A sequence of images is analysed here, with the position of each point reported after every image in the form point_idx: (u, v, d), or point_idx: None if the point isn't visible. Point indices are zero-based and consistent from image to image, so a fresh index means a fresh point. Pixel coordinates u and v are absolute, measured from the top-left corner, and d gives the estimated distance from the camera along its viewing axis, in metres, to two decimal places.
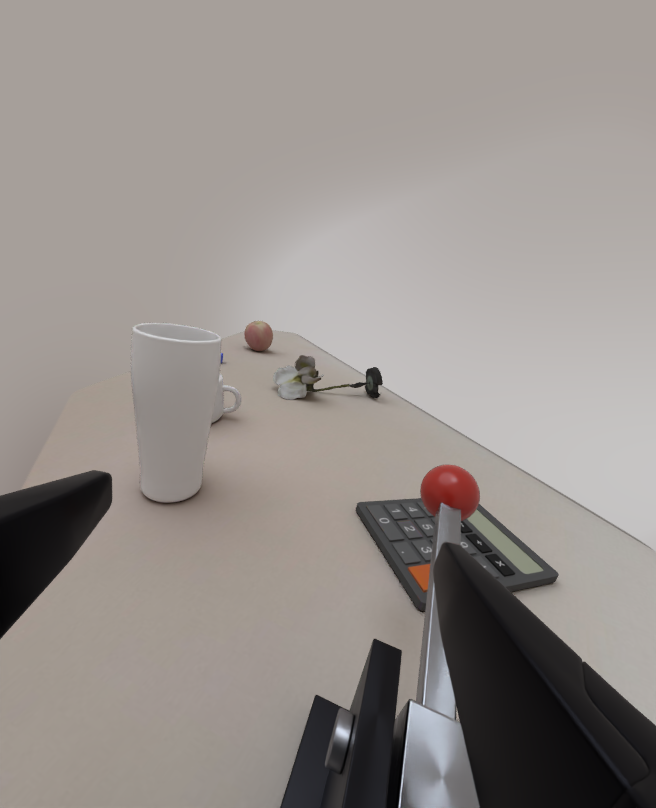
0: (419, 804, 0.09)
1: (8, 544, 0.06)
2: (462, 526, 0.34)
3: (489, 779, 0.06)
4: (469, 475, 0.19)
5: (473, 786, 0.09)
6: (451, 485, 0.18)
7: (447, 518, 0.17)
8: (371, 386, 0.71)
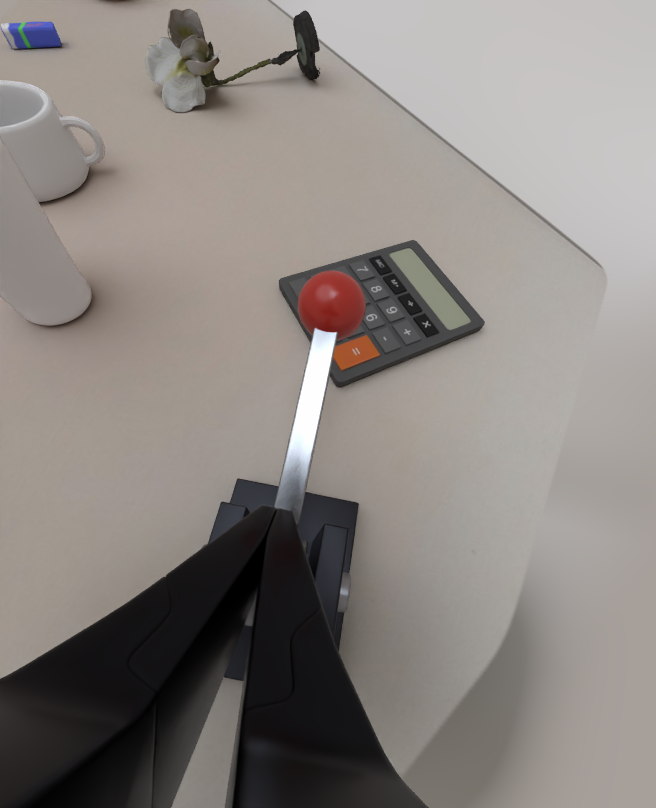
0: None
1: (240, 591, 0.06)
2: (396, 286, 0.31)
3: None
4: (349, 287, 0.15)
5: None
6: (323, 307, 0.15)
7: (318, 349, 0.15)
8: (304, 56, 0.46)
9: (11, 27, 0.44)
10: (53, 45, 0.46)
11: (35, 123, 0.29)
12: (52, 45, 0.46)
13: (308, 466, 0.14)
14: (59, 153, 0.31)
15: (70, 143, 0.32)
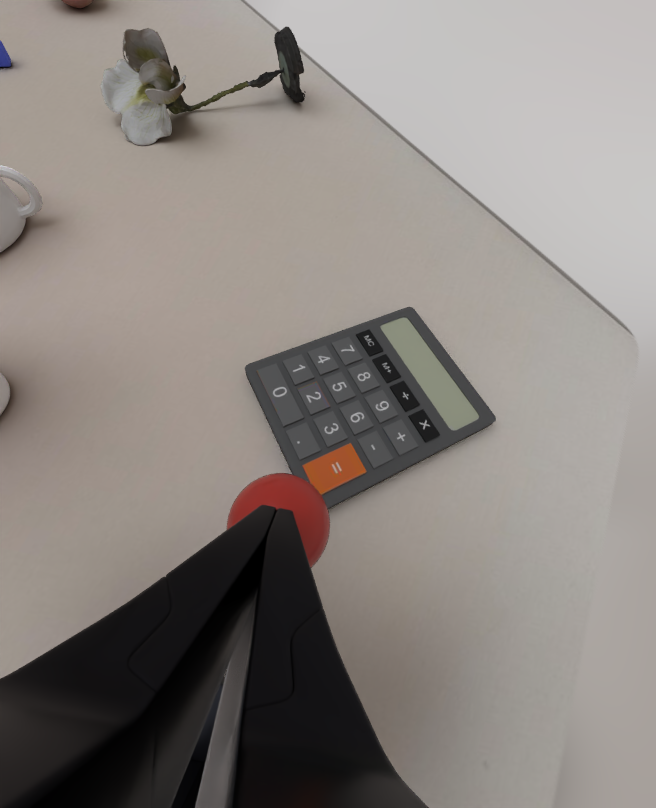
0: None
1: (239, 591, 0.06)
2: (388, 372, 0.25)
3: None
4: (300, 525, 0.09)
5: None
6: None
7: None
8: (287, 78, 0.41)
9: None
10: (2, 65, 0.41)
11: None
12: (0, 65, 0.41)
13: None
14: None
15: None
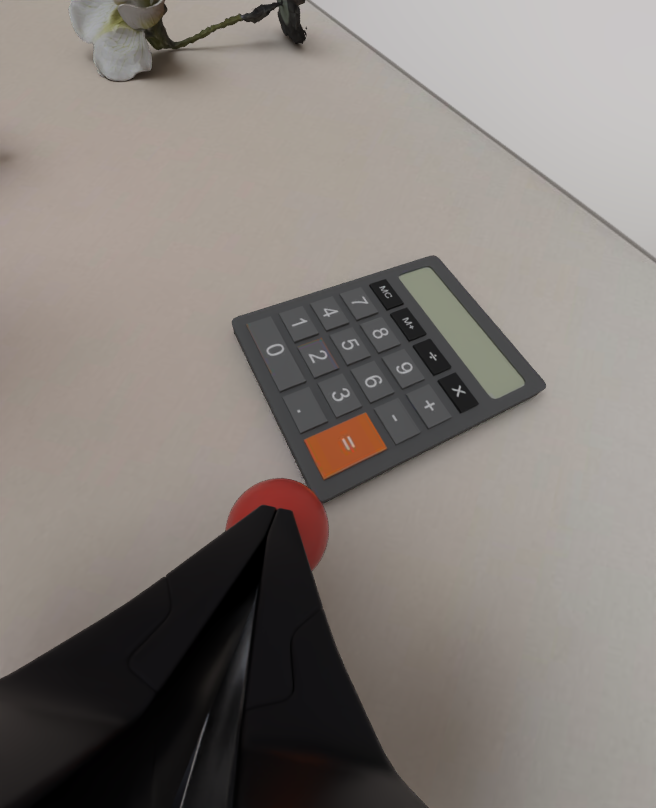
0: None
1: (240, 591, 0.06)
2: (410, 328, 0.20)
3: None
4: (303, 508, 0.10)
5: None
6: None
7: (250, 614, 0.09)
8: (286, 12, 0.36)
9: None
10: None
11: None
12: None
13: None
14: None
15: None
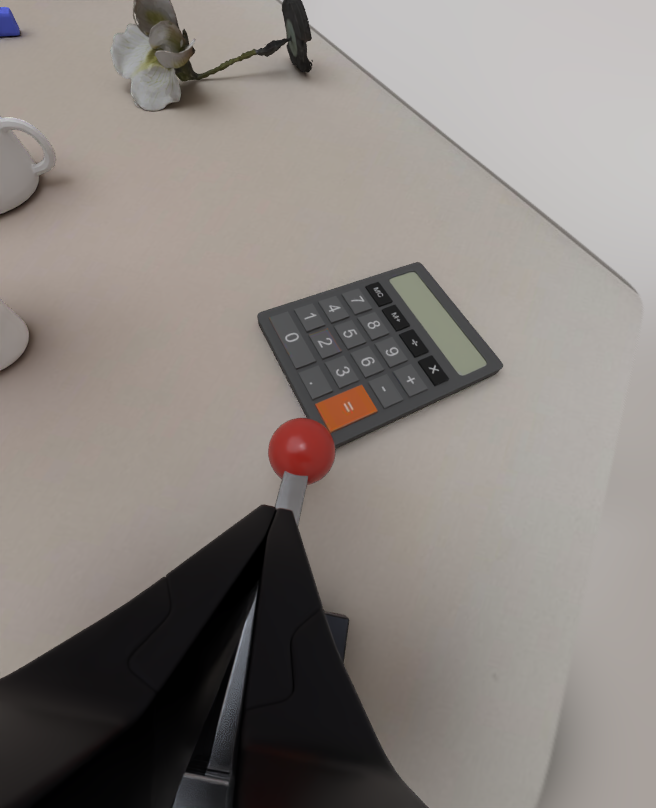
0: None
1: (240, 591, 0.06)
2: (397, 321, 0.26)
3: None
4: (319, 432, 0.15)
5: None
6: (294, 451, 0.15)
7: (288, 492, 0.14)
8: (295, 46, 0.41)
9: None
10: (11, 34, 0.41)
11: None
12: (9, 34, 0.41)
13: None
14: None
15: (11, 149, 0.27)
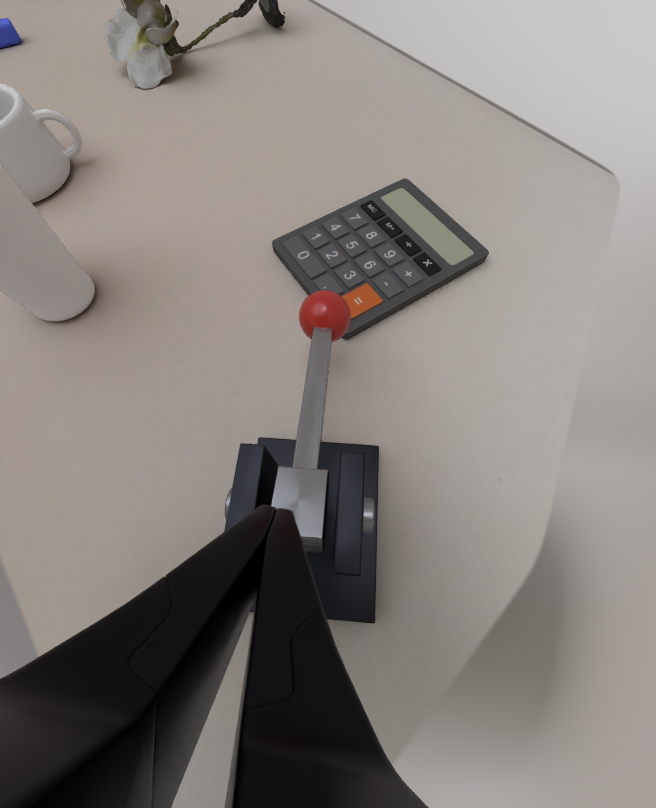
0: None
1: (239, 591, 0.06)
2: (392, 229, 0.30)
3: None
4: (336, 295, 0.20)
5: (319, 498, 0.13)
6: (318, 308, 0.19)
7: (318, 338, 0.19)
8: (266, 2, 0.44)
9: None
10: (13, 42, 0.45)
11: (10, 122, 0.29)
12: (12, 43, 0.45)
13: (321, 413, 0.16)
14: (39, 150, 0.31)
15: (47, 138, 0.32)
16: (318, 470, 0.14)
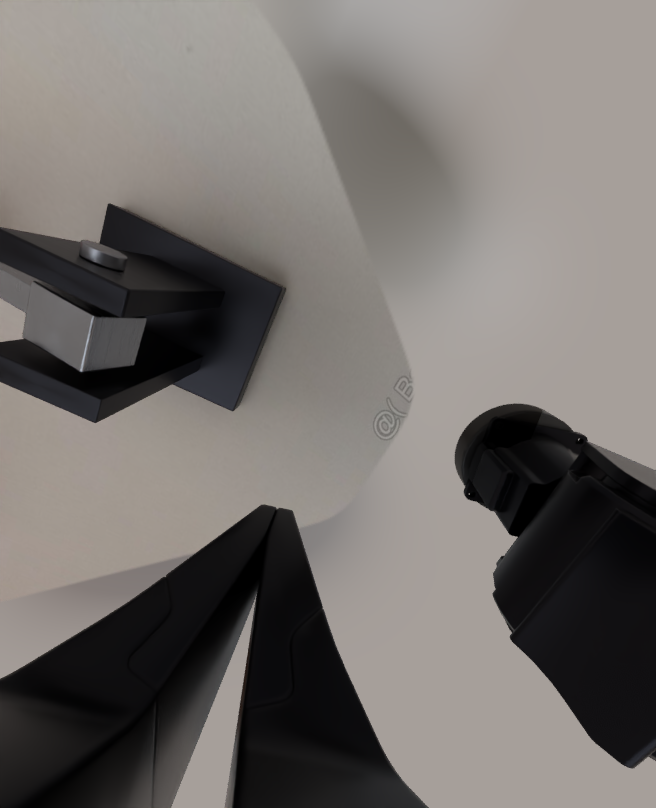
0: (70, 350, 0.12)
1: (239, 591, 0.06)
2: None
3: (237, 727, 0.06)
4: None
5: (56, 303, 0.11)
6: None
7: None
8: None
9: None
10: None
11: None
12: None
13: None
14: None
15: None
16: (30, 293, 0.12)
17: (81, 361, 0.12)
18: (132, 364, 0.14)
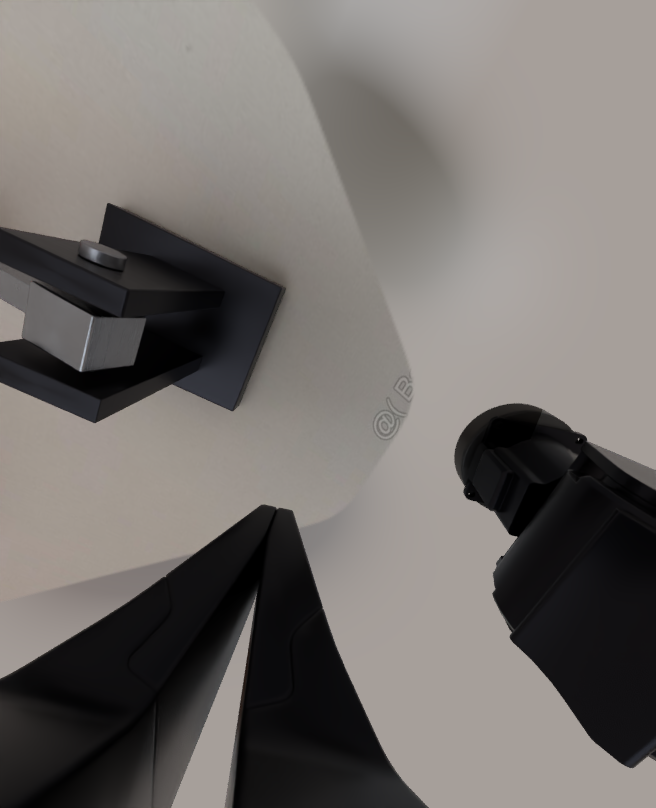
0: (69, 350, 0.12)
1: (240, 591, 0.06)
2: None
3: None
4: None
5: (56, 303, 0.11)
6: None
7: None
8: None
9: None
10: None
11: None
12: None
13: None
14: None
15: None
16: (29, 292, 0.12)
17: (80, 361, 0.12)
18: (132, 364, 0.14)
